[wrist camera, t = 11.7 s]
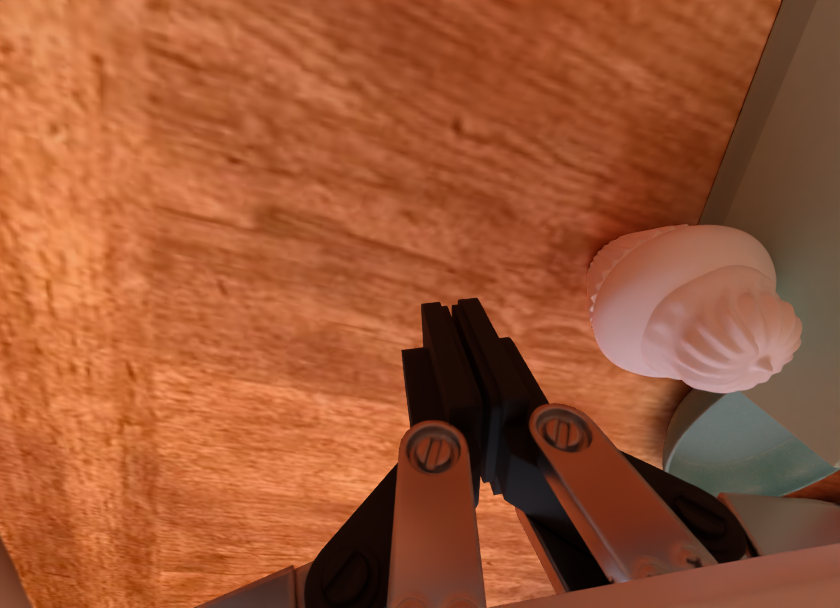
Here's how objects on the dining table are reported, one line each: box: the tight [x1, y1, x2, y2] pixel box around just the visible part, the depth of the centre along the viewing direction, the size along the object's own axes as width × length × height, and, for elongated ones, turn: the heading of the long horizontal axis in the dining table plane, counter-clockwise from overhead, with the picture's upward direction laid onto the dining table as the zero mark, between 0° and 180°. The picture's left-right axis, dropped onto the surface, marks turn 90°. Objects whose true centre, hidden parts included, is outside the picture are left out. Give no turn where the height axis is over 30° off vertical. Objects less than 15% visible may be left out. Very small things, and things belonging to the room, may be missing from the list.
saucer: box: [663, 388, 840, 497], centre depth 21 cm, size 15×15×3 cm
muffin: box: [587, 224, 802, 393], centre depth 13 cm, size 6×6×7 cm
